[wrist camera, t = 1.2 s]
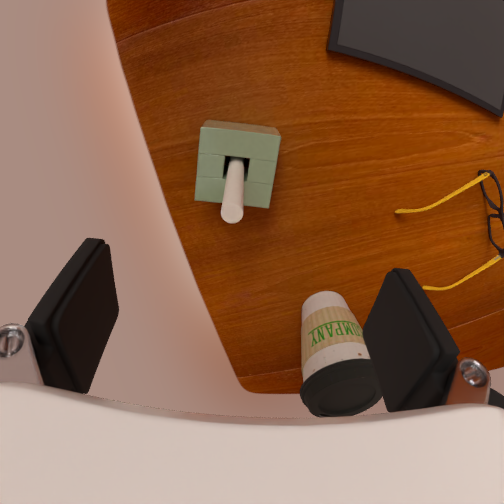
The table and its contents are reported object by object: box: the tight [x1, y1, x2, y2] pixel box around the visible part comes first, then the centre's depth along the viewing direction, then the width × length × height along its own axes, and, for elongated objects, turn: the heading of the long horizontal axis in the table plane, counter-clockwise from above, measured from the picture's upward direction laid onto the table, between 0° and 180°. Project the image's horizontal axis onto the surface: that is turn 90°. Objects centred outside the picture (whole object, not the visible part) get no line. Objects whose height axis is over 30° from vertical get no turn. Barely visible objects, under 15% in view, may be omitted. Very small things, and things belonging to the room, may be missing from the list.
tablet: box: [326, 0, 504, 118], centre depth 22 cm, size 17×24×1 cm
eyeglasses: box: [395, 170, 504, 290], centre depth 35 cm, size 14×14×4 cm
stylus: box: [221, 156, 244, 223], centre depth 26 cm, size 1×1×14 cm
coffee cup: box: [300, 291, 382, 418], centre depth 36 cm, size 10×10×15 cm
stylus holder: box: [195, 120, 281, 208], centre depth 30 cm, size 7×7×4 cm
